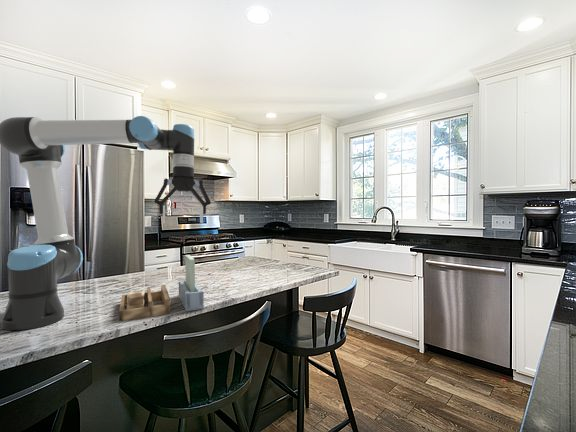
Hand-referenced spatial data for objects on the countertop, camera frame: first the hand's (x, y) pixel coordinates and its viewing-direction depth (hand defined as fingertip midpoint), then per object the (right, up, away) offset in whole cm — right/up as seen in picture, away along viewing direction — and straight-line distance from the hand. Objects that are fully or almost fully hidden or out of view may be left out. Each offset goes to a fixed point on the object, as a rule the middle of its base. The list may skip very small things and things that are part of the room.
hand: (183, 222), depth 116 cm
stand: (+3, -30, -1) cm, 30 cm away
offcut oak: (-11, -30, -14) cm, 35 cm away
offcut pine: (-15, -30, -5) cm, 34 cm away
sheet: (+3, -29, -1) cm, 29 cm away
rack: (-11, -30, -8) cm, 33 cm away
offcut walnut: (-11, -26, -14) cm, 32 cm away
